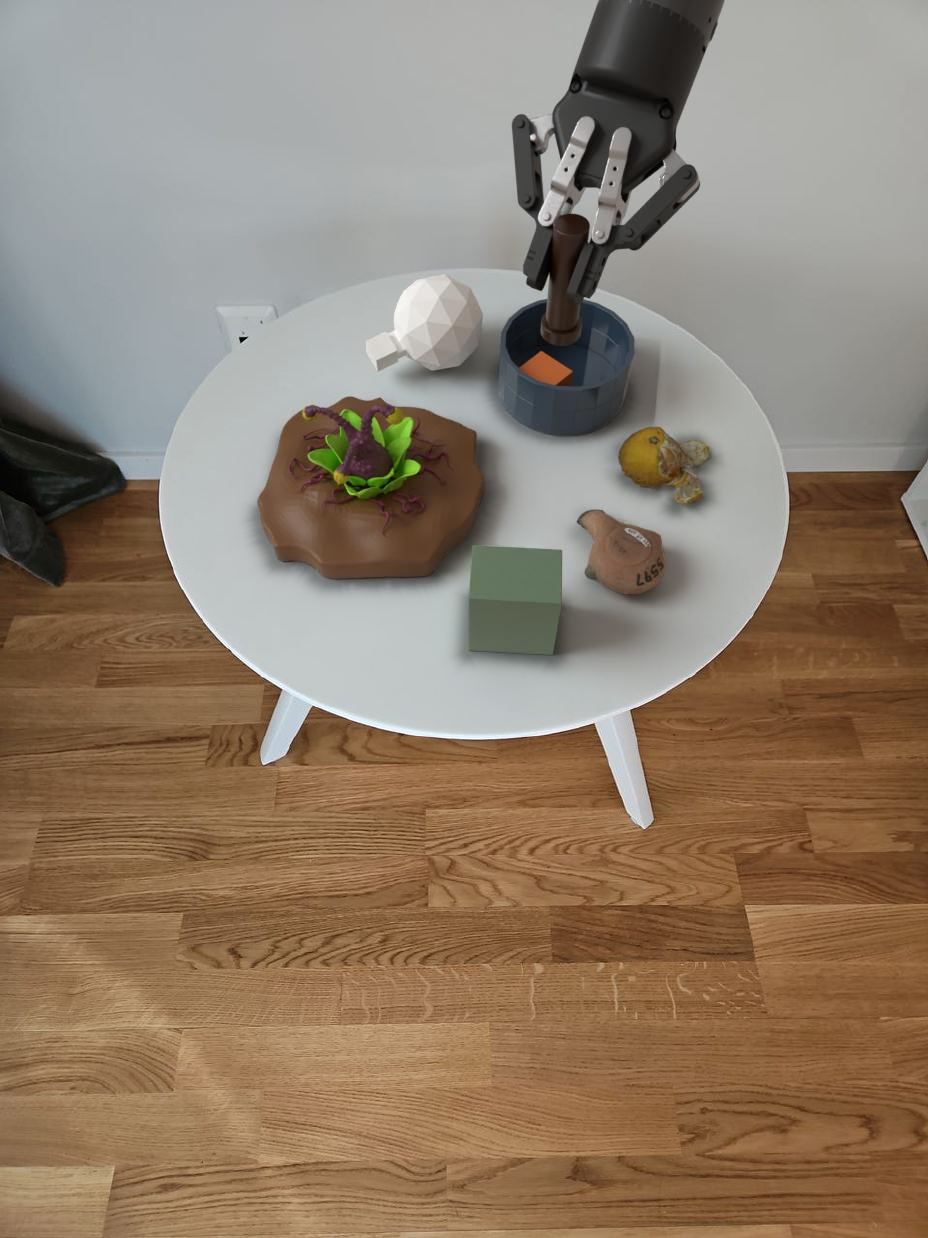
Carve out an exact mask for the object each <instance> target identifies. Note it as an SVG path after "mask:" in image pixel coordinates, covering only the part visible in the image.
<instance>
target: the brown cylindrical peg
mask: <svg viewBox="0 0 928 1238" xmlns="http://www.w3.org/2000/svg"><path fill="white" fill-rule="evenodd" d="M590 229H591V224H590V221H589V220H588V218H587V217H585V216H584V215H582V214H578V213H573V212H571V213H570V214H564V215H561V216H559V217H558V218H557V219H556V220H555V222H554V226H553V238H552V250H551V261H550V273H549V276H548V287H547V297H546V299H547V308H546V313H545V314H544V315H543V317H542V320H541V335H542V337H543V338H544V340H546V341H547V342H549V343H551V344H553V345H558V346H565V345H570V344H572V343H574V342H576V341H577V340H578V339H579V337H580V335H581V328H582V319H581V317H580V316H579V311H580V305H578V304H575V303H572V302H570V301H569V300H567V299H566V292H567V289H568V286H569V284H570V281H571V278H572V275H573V273H574V270H575V267H576V265H577V262H578V259H579V257H580V254H581V251H582V248H583V246H584V243H585V242H587V243H589V240H590V239H589V237H590V231H591V230H590Z"/></svg>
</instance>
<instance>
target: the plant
mask: <svg viewBox="0 0 928 1238" xmlns="http://www.w3.org/2000/svg"><path fill="white" fill-rule="evenodd" d="M477 449H478V433H477V431H476V430H474V429H472V428H470V427H467V426H465V425H464V424H463V423H460V422H458V421H455V420H454V419H453V420H452V419H450V418H447V417H444V416H441V415H439V414H437V413H434V411H433V412H432V411H430V410H428V409H425V408H422V407H415V406H396V405H392V404H390V403H388V402H387V401H385V400H383V399H382V398H381V396H379V397H377V398H374V399H369V400H365V399H360V398H358V397H355V396H352V395H351V396H350V395H349V396H348V395H347V396H344V397H343V398H341V399H340V400H338V401H337V402H335V403H334V404H331V405H330V406H328V407H324V406H322V407H321V406H319V405H315V404H310V405H307V406H305V407H304V408H302V409H301V410H299V411H298V412H296V413H295V414H293V415H292V417H290V418H289V419H288V420H287V421H286V423H285V424H284V426H283V427H282V430H281V433H280V436H279V439H278V444H277V450H276V453H275V456H274V459H273V462H272V465H271V468H270V471H269V474H268V477H267V481H266V484H265V486H264V487H263V490H262V491H261V492H260V494H259V495H258V497H257V502H256V503H257V507H258V511H259V515H260V516H259V517H260V523H261V526H262V529H263V533H264V535H265V537H266V539H267V540H268V542H269V543H270V544H271V545H272V547H273V549H274V552H275V555H276V558H277V560H278V561H279V562H291V561H297V562H301V563H305V564H307V565H309V566H311V567H313V569H315V570H316V571H317V572H318V573H319V574H320V575H321V576H322V577H324V578H327V579H335V580H337V579H349V578H350V579H360V578H361V579H363V578H364V579H365V578H383V577H384V578H385V577H387V578H388V577H394V578H411V577H412V578H417V577H419V578H420V577H427V576H430V575H432V574H433V572H434V571H435V570H436V569H437V568H438V566H439V565H440V564H441V562H442V561H443V560H444V559H445V557H446V556H447V555H448V554H449V553H450V552H451V551H452V550H453V549H455V548H456V547H459V546H460V545H461V544H462V543H463V542H465V540H466V538H467V536H468V535H469V534H470V532H471V530H472V528H473V526H474V524H475V520H476V516H477V512H478V510H479V507H480V504H481V501H482V499H483V498H482V497H483V495H484V484H485V483H484V481H485V476H484V474H483V473H482V471H481V469H480V467H479V465H478V462H477V455H476V452H477Z"/></svg>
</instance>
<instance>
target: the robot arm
mask: <svg viewBox="0 0 928 1238" xmlns="http://www.w3.org/2000/svg"><path fill="white" fill-rule="evenodd" d="M725 1H726V0H597V3H596V7H595V9H594V11H593V15H592V18H591V21H590V24H589V27H588V29H587V33H586V34H585V37H584V41H583V43H582V46H581V49H580V51H579V55H578V58H577V61H576V63H575V65H574V69H573V72H572V75H571V79H570V83H569V86H568V89H567V91H566V93H565V94H563V96H562V98H561V99H559V101H558V102H557V103H556V104H555V106H554V108H553V110H552V113H549V114H545V115H541V116H537V117H532V118H529V117H528V116H527V115H526V114H524V113H520V114H517V115H516V116H514V117H513V119H512V121H511V132H512V133H511V134H512V145H513V146H512V147H513V159H514V171H515V183H516V195H517V197H516V198H517V203H518V206H519V207H520V208H521V209H523V211H525V212H526V213H527V215H529V216H530V217H531V218H533V220H534V221H535V231H534V234H533V236H532V240H531V242H530V244H529V248H528V251H527V252H526V257H525V258H524V261H523V264H522V274H523V275H524V276H526V280H525V281H526V282H525V283H526V285H527V286H528V287H529V288H531V289H533V290H535V291H536V290H537V291H539V292H542V291H543V290H544V289H545V286H546V284H547V281H548V279H549V273H550V261H551V250H552V238H553V226H554V222H555V220H556V219H557V218H558V217H559V216H561V215H564V214H570V213H573V211H574V208H575V207H576V205H578V204H579V203H580V201H581V199H582V197H583V195H584V193H585V191H586V189H587V188H589V189H599V193H598V199H597V210H596V214H595V218H594V221H593V226H592V231H591V233H590V235H591V236H590V239H589V241H588V243H587V242H585V243H584V246H583V248H582V251H581V254H580V257H579V259H578V262H577V265H576V267H575V270H574V273H573V275H572V278H571V281H570V284H569V286H568V289H567V292H566V299H567V300H569V301H570V302H572V303H575V304H578V305H581V303H582V302H583V299H584V300H585V298H586V299H589V300H590V299H591V298H592V296H593V295H594V294H595V293H596V291H597V288H598V286H599V283H600V280H601V278H602V275H603V272H604V269H605V267H606V265H607V263H608V259H609V257H610V255H611V254H612V253H613V252H615V251H617V250H630V251H633V252H635V251H636V252H637V251H639V250H640V249H642V248H643V246H644V245H646V243H647V242H648V241H650V239H651V238H653V236H655V234H657V232H658V231H659V230H660V229H662V228H663V227H664V226H665V225H666V224H667V223H668V222H669V220H670V219H672V218H673V216H674V215H676V214H677V212H679V210H681V208H683V206H684V205H686V204H687V203H688V202H689V200H691V199H692V198H693V197H694V196H695V195H696V194H697V192H699V190H700V188H701V181H700V176H699V173H698V171H697V170H696V167H695V166H694V165H692V164H690V163H686V161H685V160H684V159H683V158H682V157H681V155H679V154H678V153H677V129H678V124H679V121H680V119H681V118H682V117H681V116H682V114H683V111H684V110H685V107H686V104H687V101H688V99H689V96H690V94H691V90H692V88H693V85H694V84H695V80H696V78H697V76H698V73H699V70H700V67H701V64H702V62H703V60H704V57H705V55H706V52H707V49H708V46H709V45H710V43H711V42H712V40H713V38H714V35H715V33H716V30H717V27H718V25H719V22H718V21H719V18H720V15H721V14H722V10H723V7H724V5H725ZM553 135H554V137H555V142H556V146H557V150H558V154H559V155H558V156H559V159H560V161H559V164H558V166H557V167H556V170H555V172H554V175H553V176H552V179H551V183H550V189H549V191H548V193H547V195H546V198H545V196H544V184H543V183H544V181H543V170H542V157H541V155H543V154H545V153H546V152H547V150H548V149H549V142H550V139H551V138H552V136H553ZM661 168H663V172H662V173H661V174H660V176H659V178H658V180H657V181H658V186H659V188H658V190H656V192H654V194H653V195H651V197H650V198H649V199H648V200H647V201H645V203H644V204H643V205H642V206H641V207H640V208H639V209H638V210H637V211H636V212H635V213H634V214H633V215H632V216H631V217H630V218H629V219H628V220H627V221H626V222H625V223H624V224H622V223H623V219H624V218H625V217H626V214H627V211H628V208H629V203H630V200H631V196H632V192H633V190H634V189H636V188H637V187H638V186H640V185H641V184H642V183H644V182H645V181H646V180H648V178H650V177H651V176H653V175H654V174H655V173H657V172H658V171H659V170H661Z"/></svg>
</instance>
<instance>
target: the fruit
mask: <svg viewBox="0 0 928 1238" xmlns="http://www.w3.org/2000/svg"><path fill="white" fill-rule="evenodd" d="M709 448H710V447H709V445H707V444H706V443H705V442H703V441H702V440H698V439H697V440H696V439H692V440H689V441H684V442H678V441H676V439H674V438H673V437H672V436H670V435H669V433H667V432H666V430H664V429H663V428H662V427H661V426H647V427H644V428H641V429H639V430H637V431H635V432H632V433H631V434H630V435H629V436H628V438H626V439H625V441H624V442H623V443H622V445H621V446H620V449H619V453H618V455H617V459H618V463H619V465H620V468H621V471H622V472H623V473H624V477H627V478H630V479H631V481H632V483H634V484H635V485H637V486H639V487H640V488H642V487H646V488H654V489H659V488H660V487H662V486H664V485H667V486H674V487H675V493H674V496H673V497H674V500H675V501H676V502H677V504H680V505H682V506H683V505H686V504H687V503H691V502H693V503H694V502H697V501H699V500H700V499H702V498H703V497H704V496H705V493H704V491H703V490H702V486H701V484H699V476H698V475H697V474H693V473H692V472H689V471H687V470H684V469H683V468H685V467H689V468H691V467H694V466H698V465H701V464H702V463H703V462H704V461H706V459H707V458H708V457H709V456H710V452H709Z"/></svg>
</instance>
